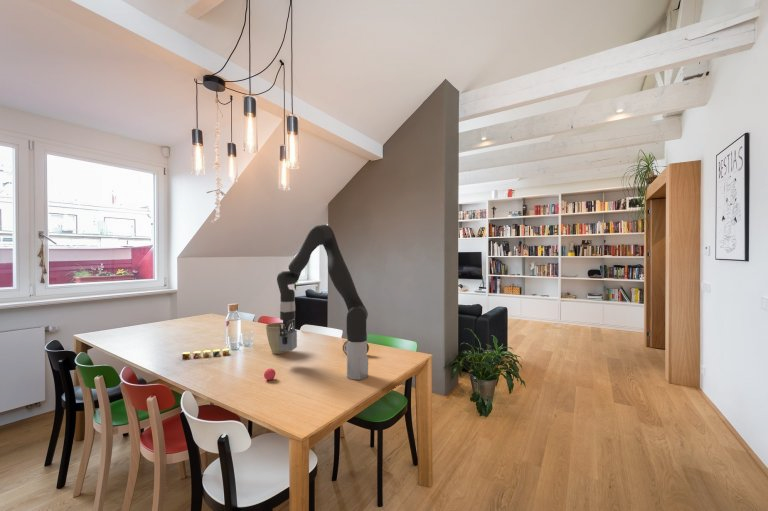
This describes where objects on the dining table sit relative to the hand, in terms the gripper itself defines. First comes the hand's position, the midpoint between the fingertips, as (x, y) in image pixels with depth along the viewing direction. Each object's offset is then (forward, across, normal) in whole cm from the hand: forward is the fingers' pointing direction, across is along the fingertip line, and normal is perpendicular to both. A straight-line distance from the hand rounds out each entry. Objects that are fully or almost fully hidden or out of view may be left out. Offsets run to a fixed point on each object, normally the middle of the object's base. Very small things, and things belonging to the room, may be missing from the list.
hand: (287, 342), depth 170 cm
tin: (+13, -23, +30) cm, 40 cm away
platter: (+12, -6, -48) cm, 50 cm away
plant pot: (+12, -21, -14) cm, 28 cm away
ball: (+9, +19, 0) cm, 22 cm away
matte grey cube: (+3, 0, 0) cm, 3 cm away
